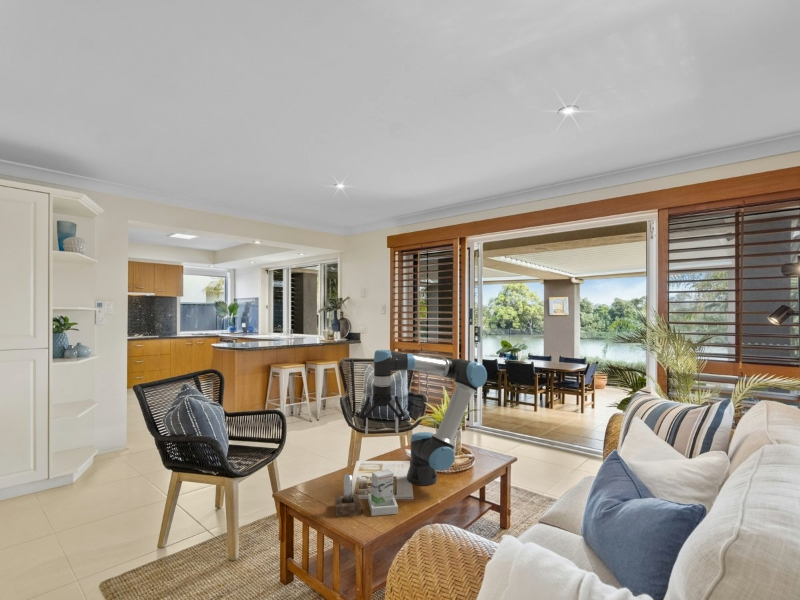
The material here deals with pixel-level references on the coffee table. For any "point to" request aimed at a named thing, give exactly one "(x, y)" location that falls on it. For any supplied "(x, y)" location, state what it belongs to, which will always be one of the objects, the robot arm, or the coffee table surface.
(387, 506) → the tray
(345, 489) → the cylinder
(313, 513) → the coffee table surface
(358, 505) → the hollow square tube
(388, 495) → the ink box
